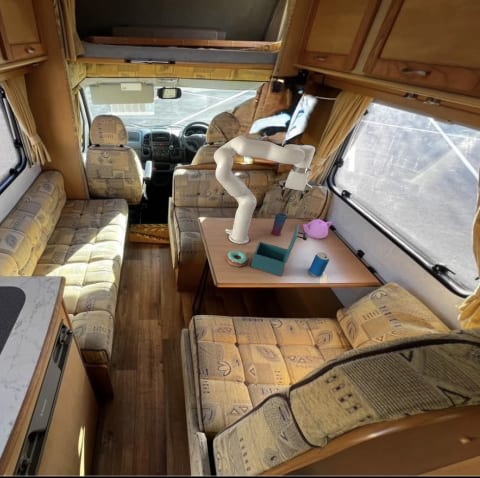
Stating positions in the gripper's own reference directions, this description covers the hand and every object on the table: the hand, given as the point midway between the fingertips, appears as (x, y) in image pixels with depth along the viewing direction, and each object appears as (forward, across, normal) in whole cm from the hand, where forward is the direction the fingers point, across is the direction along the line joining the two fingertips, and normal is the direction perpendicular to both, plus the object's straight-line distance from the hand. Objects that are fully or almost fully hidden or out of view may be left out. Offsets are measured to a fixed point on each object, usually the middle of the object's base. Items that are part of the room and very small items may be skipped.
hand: (291, 197), depth 151 cm
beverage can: (+29, -24, +25) cm, 45 cm away
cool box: (+28, 0, +30) cm, 42 cm away
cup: (+29, +2, -4) cm, 29 cm away
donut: (+29, +16, +37) cm, 49 cm away
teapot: (+29, -20, -17) cm, 39 cm away
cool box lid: (+11, -7, +30) cm, 33 cm away
